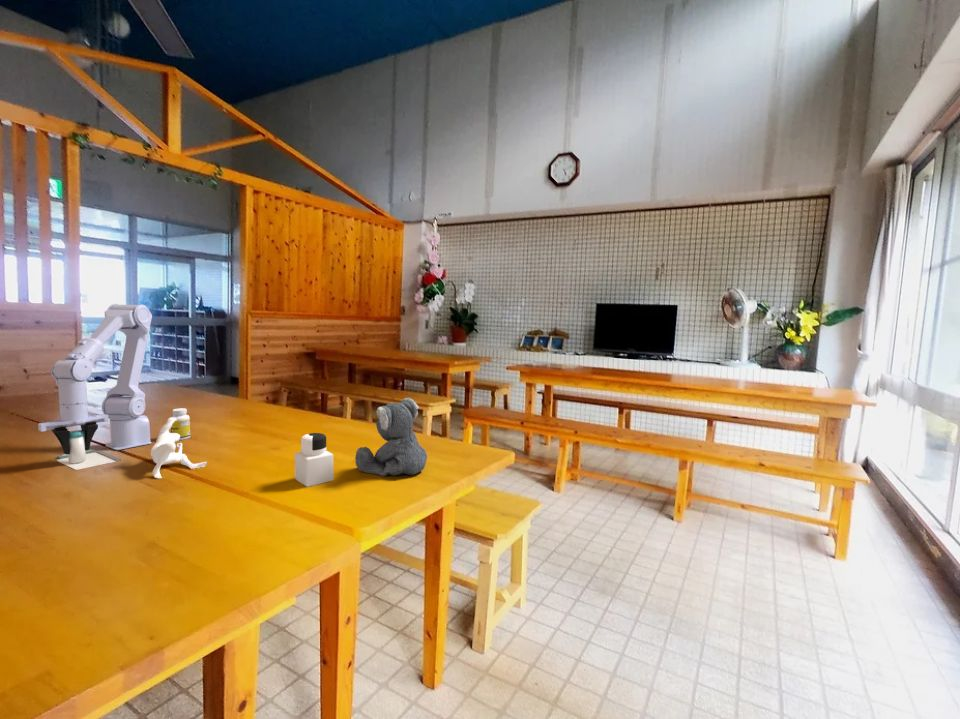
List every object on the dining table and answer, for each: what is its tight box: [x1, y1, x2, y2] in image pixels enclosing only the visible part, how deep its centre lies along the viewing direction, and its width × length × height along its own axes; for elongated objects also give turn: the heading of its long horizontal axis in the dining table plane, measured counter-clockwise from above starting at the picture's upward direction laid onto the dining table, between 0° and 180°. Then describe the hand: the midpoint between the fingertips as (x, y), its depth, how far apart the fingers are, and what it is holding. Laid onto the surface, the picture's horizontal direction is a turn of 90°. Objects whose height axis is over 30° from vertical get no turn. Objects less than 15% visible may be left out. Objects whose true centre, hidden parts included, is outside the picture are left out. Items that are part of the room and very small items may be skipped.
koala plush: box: [355, 397, 428, 477], centre depth 128 cm, size 17×18×20 cm
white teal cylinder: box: [68, 429, 86, 463], centre depth 127 cm, size 4×4×8 cm
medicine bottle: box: [294, 432, 334, 488], centre depth 118 cm, size 7×7×12 cm
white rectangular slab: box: [56, 450, 122, 471], centre depth 129 cm, size 10×14×1 cm
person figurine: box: [150, 416, 207, 479], centre depth 125 cm, size 13×13×18 cm
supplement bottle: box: [170, 407, 191, 441], centre depth 153 cm, size 5×5×10 cm
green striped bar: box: [56, 448, 96, 459], centre depth 134 cm, size 8×2×1 cm, turn 148°
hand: (76, 451), depth 127 cm, fingers closed on white teal cylinder, 4 cm apart
